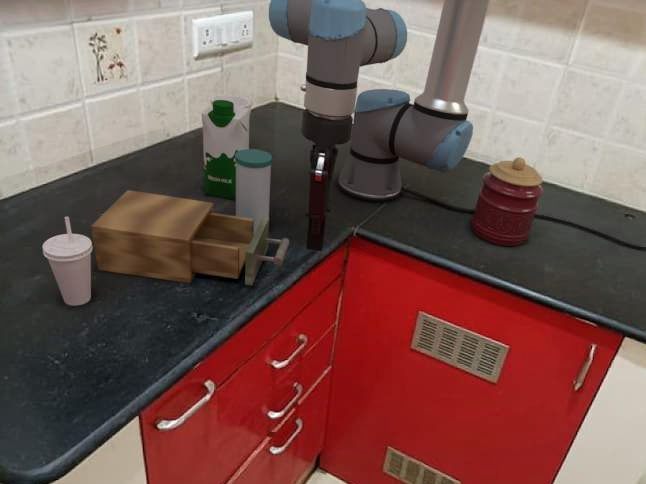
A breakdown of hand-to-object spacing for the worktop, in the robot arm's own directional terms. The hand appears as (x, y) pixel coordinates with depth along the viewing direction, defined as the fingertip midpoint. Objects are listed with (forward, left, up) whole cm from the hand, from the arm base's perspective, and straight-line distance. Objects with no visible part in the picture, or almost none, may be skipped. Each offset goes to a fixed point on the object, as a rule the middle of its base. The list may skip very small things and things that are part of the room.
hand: (314, 247), depth 95 cm
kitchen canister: (-38, -29, -7) cm, 48 cm away
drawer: (+14, 0, -5) cm, 15 cm away
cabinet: (+27, 0, -6) cm, 28 cm away
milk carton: (+23, -29, -7) cm, 38 cm away
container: (+14, -15, -6) cm, 22 cm away
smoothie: (+34, +15, -7) cm, 38 cm away
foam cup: (+28, -51, -7) cm, 59 cm away
